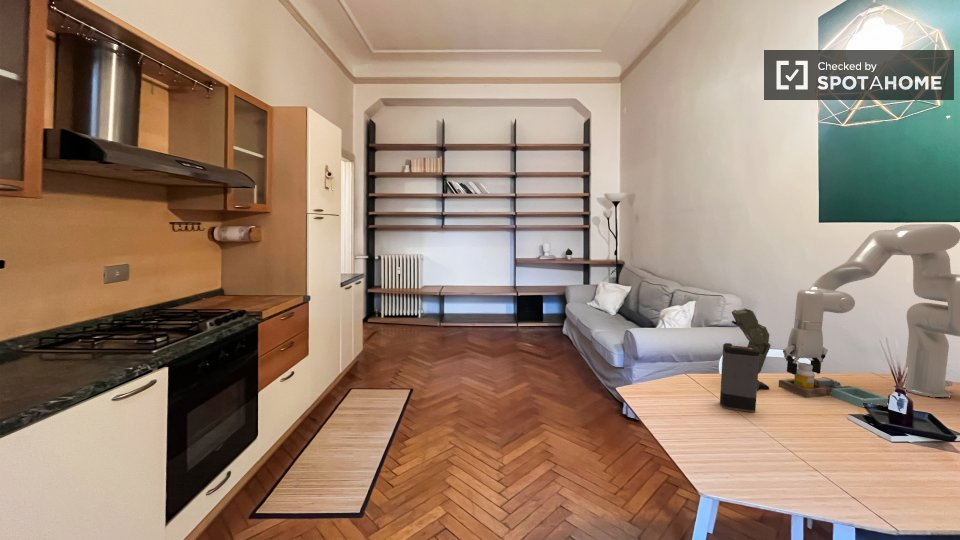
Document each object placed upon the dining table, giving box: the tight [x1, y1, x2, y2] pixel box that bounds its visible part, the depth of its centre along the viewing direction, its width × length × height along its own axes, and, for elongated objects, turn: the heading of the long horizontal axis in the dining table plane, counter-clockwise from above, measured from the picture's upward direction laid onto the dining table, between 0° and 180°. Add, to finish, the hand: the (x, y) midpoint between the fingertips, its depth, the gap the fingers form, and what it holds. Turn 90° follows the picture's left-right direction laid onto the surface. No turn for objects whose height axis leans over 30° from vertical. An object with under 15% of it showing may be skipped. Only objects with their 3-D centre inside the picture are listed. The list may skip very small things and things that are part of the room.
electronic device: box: [719, 342, 759, 413], centre depth 126 cm, size 9×6×20 cm, turn 65°
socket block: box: [778, 378, 831, 399], centre depth 141 cm, size 10×10×2 cm
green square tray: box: [830, 386, 890, 409], centre depth 133 cm, size 10×10×2 cm
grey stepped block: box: [814, 376, 838, 387], centre depth 142 cm, size 6×4×3 cm
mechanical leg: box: [731, 307, 771, 391], centre depth 144 cm, size 14×7×30 cm, turn 83°
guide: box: [827, 381, 853, 393], centre depth 143 cm, size 12×5×2 cm, turn 99°
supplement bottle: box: [793, 362, 816, 389], centre depth 140 cm, size 5×5×10 cm
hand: (803, 372), depth 140 cm, fingers open, 9 cm apart
